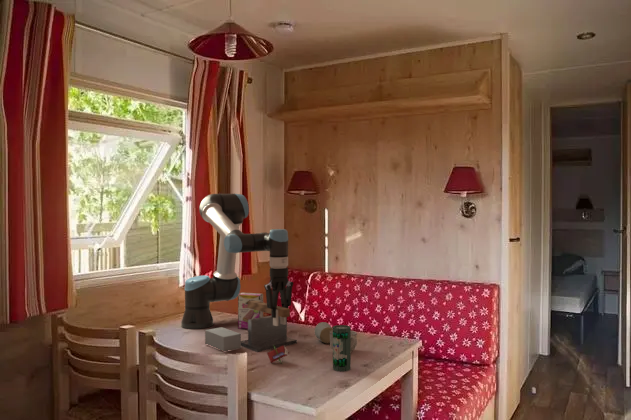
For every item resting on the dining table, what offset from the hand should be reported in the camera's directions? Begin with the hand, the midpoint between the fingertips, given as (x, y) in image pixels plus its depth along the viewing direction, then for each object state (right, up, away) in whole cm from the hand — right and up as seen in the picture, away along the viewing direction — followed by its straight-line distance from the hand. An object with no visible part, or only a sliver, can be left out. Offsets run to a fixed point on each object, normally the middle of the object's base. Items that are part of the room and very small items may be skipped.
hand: (279, 324), depth 217 cm
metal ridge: (-5, -10, +6) cm, 13 cm away
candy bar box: (-16, -9, +34) cm, 39 cm away
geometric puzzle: (+1, -10, -19) cm, 22 cm away
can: (+24, -10, -26) cm, 37 cm away
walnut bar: (-5, +4, +6) cm, 9 cm away
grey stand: (-24, -10, +3) cm, 26 cm away
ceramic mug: (+20, -10, +11) cm, 25 cm away
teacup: (+26, -10, -6) cm, 29 cm away
